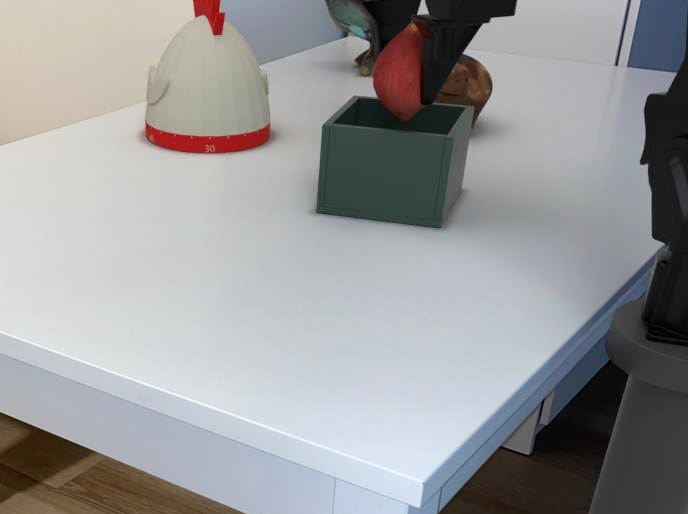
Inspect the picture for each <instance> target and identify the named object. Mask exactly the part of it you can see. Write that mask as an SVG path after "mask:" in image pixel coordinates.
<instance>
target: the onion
mask: <svg viewBox="0 0 688 514" xmlns="http://www.w3.org/2000/svg"><path fill="white" fill-rule="evenodd" d="M421 54H422V35H421V33H420V32H419V30H418V28H417V27H416V25H415V24H414V22H413V20H412V22H411V23H410V24H409V25H408V26H407V27H406V28H405V29H404V30H403V31H402V32H400V33H399V34H398V35H396V36H395V37H394V38H393V39H392V40H391V41H390V42H389V43H388V44H387V45H386V46H385V48H384V49H383V50H382V51H381V53H380V55H379V56H378V58H377V61H376V63H375V65H374V66H373V72H372V86H373V89H374V92H375V95H376V97H378V98H379V100H380V101H381V102H382V104H383V105H384V106H385V107H386V108H387V109H388V110H389V111H390V112H391V113H392V114H394V115H395V116H396V118H398V119H399V120H400V121H408V120H410V119H411V118H412V117H413V116H414V115H415V114H416V113H417V112H419V111H420V110H421V109H422V108H424V107H425V106H426V105H422V104H421V103H420V74H421Z"/></svg>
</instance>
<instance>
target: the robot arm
mask: <svg viewBox="0 0 688 514" xmlns="http://www.w3.org/2000/svg"><path fill="white" fill-rule="evenodd" d="M518 1H519V0H424V3H425V6H426V9H427V11H428V13H422V14H418V13H419V9H420V7H421V3H422V0H349V2H350V4H353V5H354V6H355V7H356V8H357V9H358V10H359V11H360V12H361V14H362V15H363V16H364V17H365V18H366V20H367V22H368V25H369V29H370V33H371V38H372V42H373V47H374V53H375V58H376V61H377V58H378V56H379V55H380V53H381V51H382V50H383V49H384V48H385V46H386V45H387V44H388V43H389V42H390V41H391V40H392V39H393V38H394V37H395V36H396V35H398V34H399V33H400V32H402V31H403V30H404V29H405V28H406V27H407V26H408V25H409V24H410V23H411V22H412V20H413V22H414V24H415V25H416V27H417V28H418V30H419V32H420V33H421V35H422V54H421V74H420V103H421V104H422V105H430V104H433V103H434V101H435V99H436V98H437V96H438V94H439V92H440V91H441V89H442V87H443V86H444V84H445V82H446V81H447V79H448V77H449V75H450V74H451V72H452V70H453V69H454V67H455V65H456V64H457V62H458V60H459V59H460V57H461V55H462V54H464V52H465V51H466V49H467V48H468V46H469V45H470V44H471V42H472V41H473V39H474V38H475V36H476V35H477V33H478V32H479V30H480V29H481V28H482V27H483V26H484V25H483V24H490V22H491V20H492V19H494V18H495V19H496V18H508V17H515V16H516V12H517V7H518ZM686 4H687V5H686V7H687V8H686V25H685V26H686V28H685V44H684V45H685V46H684V54H683V59H682V62H681V65H680V67H679V69H678V71H677V72H676V74H675V76H674V78H673V81H672V82H671V84H670V86H669V88H668V89H667V91H660V92H653V93H652V92H651V93H649V94H648V95H647V96H646V98H645V99H646V100H645V103H644V106H643V119H644V130H645V135H644V136H645V138H644V145H643V150H642V152H641V156H640V158H639V165H640V166H646V165H647V181H648V186H649V189H650V193H651V196H650V197H651V202H650V204H651V207H650V208H651V209H650V210H651V238H652V239H653V240H655V241H657V242H659V243H662V244H665V246H666V248H665V247H661V248H660V249H658V250H657V251H656V253H655V257H654V260H653V264H652V268H651V271H650V275H649V278H648V282H647V285H646V289H645V293H644V295H643V298H644V299H643V303H642V310H641V319H642V320H643V322H646V335H645V338H646V339H647V340H649V341H652V342H658V343H665V344H672V345H678V346H685V347H688V3H686Z"/></svg>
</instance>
